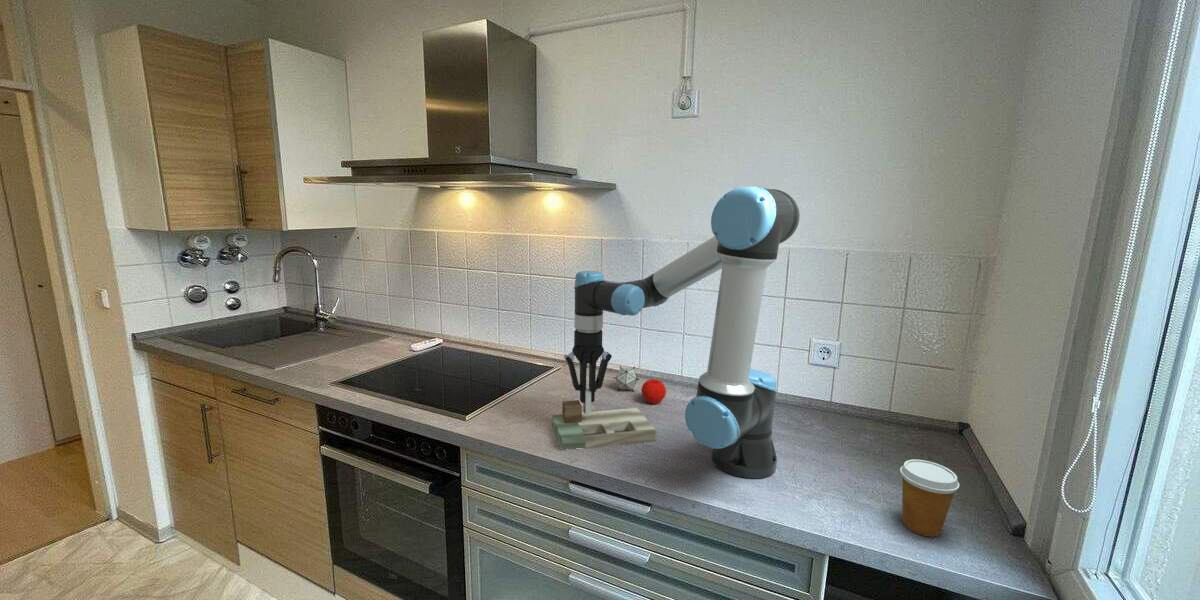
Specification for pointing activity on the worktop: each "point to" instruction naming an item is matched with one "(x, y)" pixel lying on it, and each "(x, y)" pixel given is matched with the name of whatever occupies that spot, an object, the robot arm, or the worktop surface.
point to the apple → (653, 391)
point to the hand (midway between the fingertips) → (587, 413)
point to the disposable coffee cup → (926, 496)
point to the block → (571, 411)
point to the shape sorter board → (604, 429)
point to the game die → (626, 378)
